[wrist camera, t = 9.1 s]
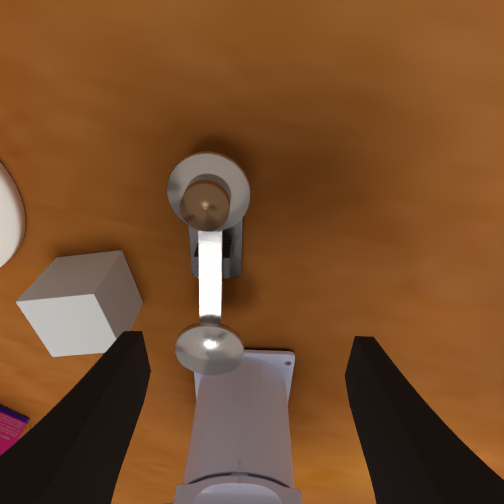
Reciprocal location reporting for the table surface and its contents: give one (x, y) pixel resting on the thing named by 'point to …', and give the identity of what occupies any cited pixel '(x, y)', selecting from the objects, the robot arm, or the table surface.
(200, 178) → the balance
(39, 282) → the grey block
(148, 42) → the table surface
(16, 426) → the supplement box
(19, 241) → the dish
